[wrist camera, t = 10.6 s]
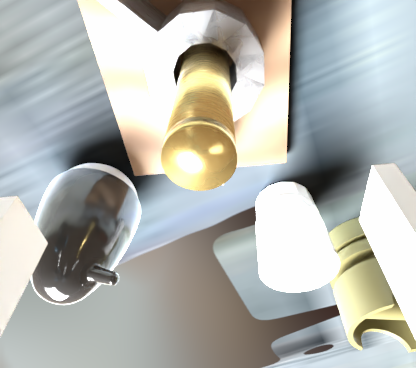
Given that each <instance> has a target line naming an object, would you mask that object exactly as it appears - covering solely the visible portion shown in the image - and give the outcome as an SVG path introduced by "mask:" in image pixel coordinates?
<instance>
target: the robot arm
mask: <svg viewBox="0 0 416 368" xmlns="http://www.w3.org/2000/svg"><path fill="white" fill-rule="evenodd" d="M359 222H360V224H361V226H362V228H363V230H364V232H365V234H366V236H367V238H368V241H369V243H370V245H371V247H372V249H373V251H374V253H375V255H376V257H377V260H378V262H379V264H380V266H381V268H382V270H383V272H384V274H385V276H386V278H387V281H388V283H389V285H390V287H391V289H392V291H393V293H394V295H395V297H396V300H397V302H398V304H399V306H400V308H401V310H402V312H403V314H404V316H405V318H406V321H407V323H408V325H409V327H410V329H411V331H412V333H413V335H414V337H415V340H416V191H415V190H414V188H413V187H412V186H411V184H410V183H409V182H408V180H407V179H406V178H405V176H404V175H403V173H402V172H401V171H400V169H399V168H398V167H397V165H396V164H395V163H389V164H378V165H372V167H371V171H370V176H369V180H368V184H367V188H366V192H365V197H364V201H363V205H362V209H361V214H360V218H359ZM47 244H48V242H47V241H46V239H45V238H44V236H43V235H42V233H41V231H40V230H39V228H38V227H37V225H36V224H35V222H34V221H33V219H32V218H31V216H30V215H29V213H28V211H27V210H26V208H25V207H24V205H23V204H22V202H21V201H20V199H19V198H18V196H11V197H0V337H1V335H2V333H3V331H4V329H5V327H6V325H7V323H8V321H9V319H10V317H11V315H12V313H13V311H14V309H15V307H16V306H17V304H18V302H19V300H20V298H21V296H22V294H23V292H24V290H25V288H26V286H27V284H28V282H29V280H30V278H31V276H32V274H33V272H34V270H35V268H36V266H37V264H38V262H39V260H40V258H41V256H42V254H43V252H44V250H45V248H46V246H47Z"/></svg>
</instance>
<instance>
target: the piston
mask: <svg viewBox="0 0 416 368" xmlns="http://www.w3.org/2000/svg"><path fill="white" fill-rule="evenodd" d="M359 218H360V217H358V218H354V219H351V220H349V221H346V222H344V223H342V224H340V225H339V226H337V227H336V228H334V229H333V230H332V231H331V232H330V233H329V236H330V238H331V241H332V243H333V245H334V248H335V250H336V252H337V254H338V257H339V259H340V268H339V271H338V273H337V274H336V276H335V277H334V278H333V279H332V280H331V281H330V283H331V286H332V288H333V291H334V296H335V299H336V302H337V305H338V308H339V312H340V315H341V318H342V321H343V325H344V328H345V331H346V334H347V337H348V340H349V342H350V343H351V345H352V346H354V347H355V348H357V349H359V350H362V348H363V347H362V343H361V336H362V334H363V333H365V332H368V331H377V332H382V333H385V334H388V335H390V336H392V337H394V338H396V339H397V340H399V341H400V342H401V343H402V344H403V345H404V346H405V347H406V348H407V350H408V352H413V351H416V340H415V337H414V335H413V333H412V331H411V329H410V327H409V325H408V323H407V321H406V318H405V316H404V314H403V312H402V310H401V308H400V306H399V304H398V302H397V300H396V297H395V295H394V293H393V291H392V289H391V287H390V285H389V283H388V281H387V278H386V276H385V274H384V272H383V270H382V268H381V266H380V264H379V262H378V260H377V257H376V255H375V253H374V251H373V249H372V247H371V245H370V243H369V241H368V238H367V236H366V234H365V232H364V230H363V228H362V226H361V224H360V222H359Z"/></svg>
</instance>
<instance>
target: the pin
mask: <svg viewBox="0 0 416 368" xmlns="http://www.w3.org/2000/svg"><path fill="white" fill-rule="evenodd" d="M161 164H162V167H163V170H164V172H165V173H166V175H167V176H168V177H169V178H170V179H171V180H172V181H173V182H174V183H176V184H177V185H179V186H181V187H184V188H186V189H190V190H197V191H204V190H210V189H214V188H217V187H219V186H221V185H222V184H224V183H225V182H227V181H228V180H229V179H230V178H231V176H232V175H233V174H234V172H235V169H236V166H237V150H236V139H235V128H234V117H233V106H232V96H231V85H230V74H229V63H228V52H227V51H226V50H225V49H223V48H220V47H218V46H216V45H214V44H212V43H203V44H195V45H191V46H190V47H189V48H187V49H186V50H185V54H184V59H183V63H182V67H181V71H180V76H179V80H178V84H177V88H176V92H175V97H174V101H173V105H172V109H171V113H170V118H169V122H168V126H167V130H166V135H165V139H164V143H163V147H162V151H161Z"/></svg>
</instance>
